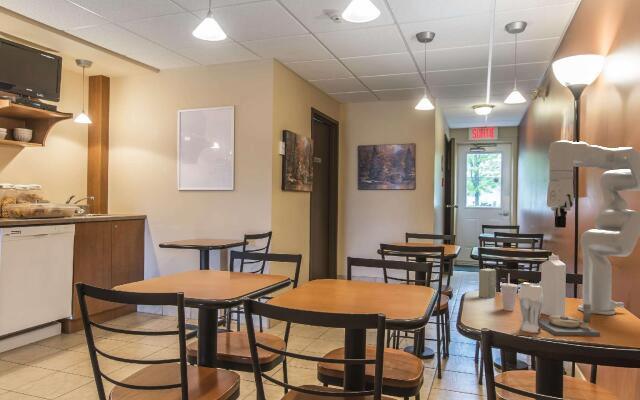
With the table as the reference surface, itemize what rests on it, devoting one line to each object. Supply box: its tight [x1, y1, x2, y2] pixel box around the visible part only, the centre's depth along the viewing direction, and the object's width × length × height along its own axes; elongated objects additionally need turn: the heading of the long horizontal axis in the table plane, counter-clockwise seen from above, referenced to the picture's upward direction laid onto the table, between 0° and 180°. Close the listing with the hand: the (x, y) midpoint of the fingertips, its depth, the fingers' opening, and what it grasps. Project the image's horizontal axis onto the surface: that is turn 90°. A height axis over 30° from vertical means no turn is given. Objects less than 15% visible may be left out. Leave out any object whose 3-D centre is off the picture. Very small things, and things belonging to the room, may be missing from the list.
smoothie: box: [500, 272, 519, 312], centre depth 174 cm, size 6×6×14 cm
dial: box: [548, 304, 592, 328], centre depth 149 cm, size 9×11×7 cm
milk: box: [540, 254, 567, 316], centre depth 168 cm, size 6×6×22 cm
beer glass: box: [518, 282, 543, 334], centre depth 146 cm, size 7×7×15 cm
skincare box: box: [478, 267, 497, 299], centre depth 197 cm, size 6×4×12 cm
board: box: [540, 317, 601, 337], centre depth 149 cm, size 14×16×2 cm
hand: (560, 227), depth 160 cm, fingers closed
